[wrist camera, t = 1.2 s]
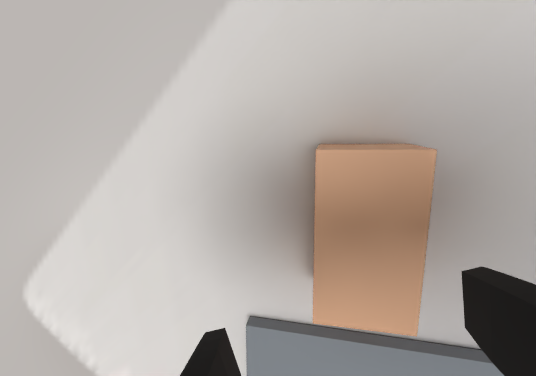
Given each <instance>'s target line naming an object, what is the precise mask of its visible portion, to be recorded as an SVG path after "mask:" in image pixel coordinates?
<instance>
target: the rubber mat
mask: <svg viewBox="0 0 536 376" xmlns="http://www.w3.org/2000/svg"><path fill="white" fill-rule="evenodd" d="M246 349H247V376H504V375H503V374H502V373H501V372H500V371H499V370H498V368H497V367H496V366H495V365H494V364H493V363H492V362H491V361H490V359H489V358H488V357H487V356H486V354H485V353H484V352H483V351H482V350H477V349H470V348H463V347H457V346H450V345H443V344H436V343H429V342H423V341H416V340H409V339H402V338H395V337H388V336H382V335H375V334H368V333H361V332H354V331H348V330H341V329H334V328H327V327H320V326H314V325H307V324H300V323H293V322H286V321H279V320H273V319H266V318H259V317H252V316H250V318H249V320H248V322H247V325H246Z"/></svg>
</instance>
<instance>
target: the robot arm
mask: <svg viewBox="0 0 536 376" xmlns="http://www.w3.org/2000/svg"><path fill="white" fill-rule="evenodd" d="M462 285H463V301H464V318H465V328H466V329H467V331H468V332H469V333H470V335H471V336H472V337H473V339H474V340H475V341H476V343H477V344H478V345H479V347H480V348H481V349H482V351H483V352H484V353H485V354H486V356H487V357H488V358H489V359H490V361H491V362H492V363H493V364H494V365H495V366H496V367H497V368H498V370H499V371H500V372H501V373H502V374H503V375H504V376H536V285H535V284H532V283H529V282H527V281H524V280H521V279H518V278H515V277H512V276H510V275H507V274H504V273H501V272H498V271H495V270H492V269H489V268H485V267H478V268H474V269H470V270H466V271H462ZM180 376H241V373H240V371H239V368H238V365H237V362H236V359H235V356H234V353H233V350H232V347H231V344H230V341H229V338H228V336H227V333H226V330H225V328H223V329H218V330H214V331H210V332H206V333H205V334H204V335H203V337H202V339H201V340H200V342H199V344H198V345H197V347H196V349H195V351H194V352H193V354H192V356H191V358H190V359H189V361H188V363H187V365H186V366H185V368H184V370H183V371H182V373H181V375H180Z"/></svg>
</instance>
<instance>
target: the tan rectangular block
mask: <svg viewBox="0 0 536 376" xmlns="http://www.w3.org/2000/svg"><path fill="white" fill-rule="evenodd" d="M436 154H437V150H436V149H432V148H427V147H422V146H417V145H412V144H319V145H318V147H317V149H316V167H315V223H314V279H313V323H314V324H322V325H330V326H338V327H346V328H354V329H362V330H370V331H378V332H386V333H394V334H402V335H410V336H417V331H418V322H419V313H420V303H421V294H422V285H423V275H424V266H425V256H426V247H427V238H428V228H429V219H430V210H431V200H432V191H433V182H434V172H435V163H436Z"/></svg>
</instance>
